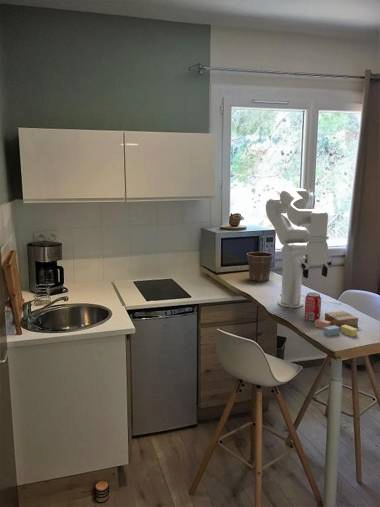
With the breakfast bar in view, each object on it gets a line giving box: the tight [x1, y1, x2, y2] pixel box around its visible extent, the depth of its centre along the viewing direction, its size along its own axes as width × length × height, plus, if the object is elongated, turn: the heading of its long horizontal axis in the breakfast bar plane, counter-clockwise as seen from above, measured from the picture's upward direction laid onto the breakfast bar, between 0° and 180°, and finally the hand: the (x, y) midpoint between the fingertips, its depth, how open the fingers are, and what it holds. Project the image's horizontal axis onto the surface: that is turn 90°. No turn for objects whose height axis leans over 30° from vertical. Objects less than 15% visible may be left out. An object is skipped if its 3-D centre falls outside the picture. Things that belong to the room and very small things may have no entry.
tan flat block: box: [324, 310, 359, 330], centre depth 198 cm, size 10×10×4 cm
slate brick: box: [323, 325, 341, 337], centre depth 187 cm, size 6×3×3 cm, turn 115°
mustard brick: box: [340, 325, 358, 337], centre depth 187 cm, size 6×3×3 cm, turn 32°
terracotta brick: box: [314, 318, 332, 330], centre depth 194 cm, size 6×3×3 cm, turn 47°
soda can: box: [303, 292, 322, 322], centre depth 203 cm, size 7×7×12 cm
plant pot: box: [246, 251, 274, 283], centre depth 275 cm, size 16×16×16 cm
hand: (314, 276), depth 201 cm, fingers open, 9 cm apart
